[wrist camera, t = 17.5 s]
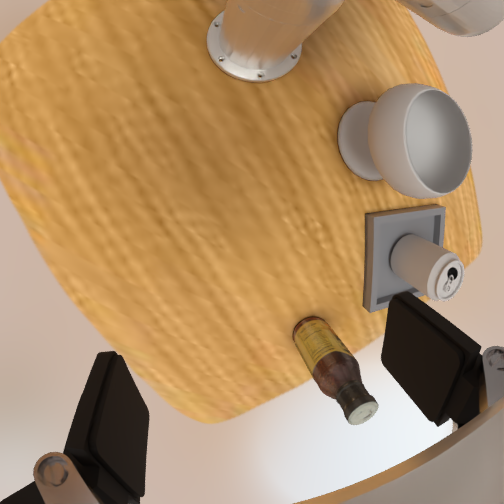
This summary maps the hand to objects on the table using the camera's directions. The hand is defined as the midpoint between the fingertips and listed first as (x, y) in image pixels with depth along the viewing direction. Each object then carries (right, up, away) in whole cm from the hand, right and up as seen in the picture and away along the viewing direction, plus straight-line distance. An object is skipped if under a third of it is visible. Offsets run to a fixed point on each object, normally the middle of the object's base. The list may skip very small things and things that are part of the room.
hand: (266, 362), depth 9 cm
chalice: (+17, +20, +29) cm, 39 cm away
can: (+25, +3, +36) cm, 44 cm away
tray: (+25, +3, +36) cm, 44 cm away
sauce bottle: (+9, -9, +37) cm, 39 cm away
